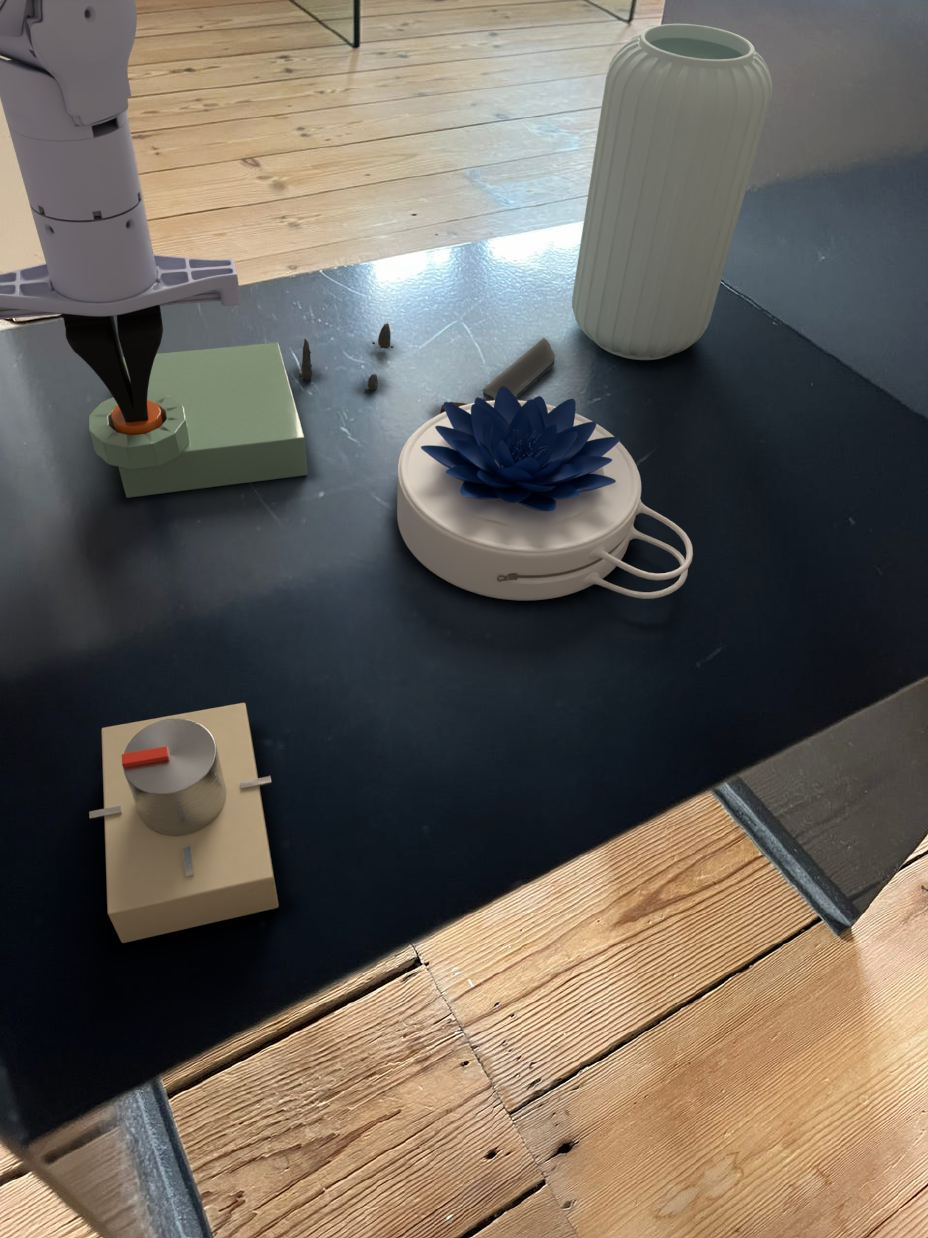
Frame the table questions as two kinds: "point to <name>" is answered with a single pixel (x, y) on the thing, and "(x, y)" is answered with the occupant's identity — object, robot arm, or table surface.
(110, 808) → the beige rotary knob box
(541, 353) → the knife
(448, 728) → the table surface
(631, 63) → the vase
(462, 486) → the round zippered pouch
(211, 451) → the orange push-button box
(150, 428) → the push button
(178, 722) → the dial
